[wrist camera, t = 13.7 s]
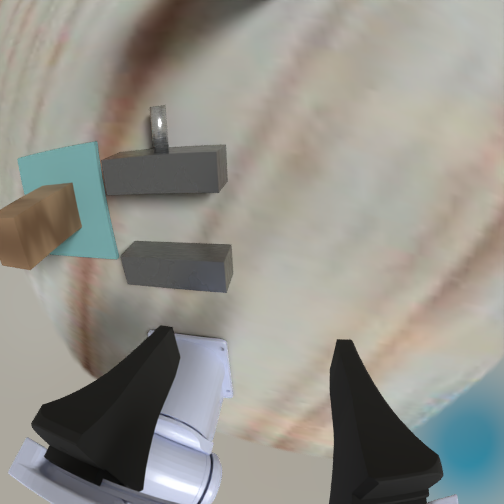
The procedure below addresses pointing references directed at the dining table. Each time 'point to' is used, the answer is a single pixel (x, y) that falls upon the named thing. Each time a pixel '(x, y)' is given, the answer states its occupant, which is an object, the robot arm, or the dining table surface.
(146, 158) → the metal vise
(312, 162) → the dining table surface
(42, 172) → the teal mat
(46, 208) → the walnut peg
